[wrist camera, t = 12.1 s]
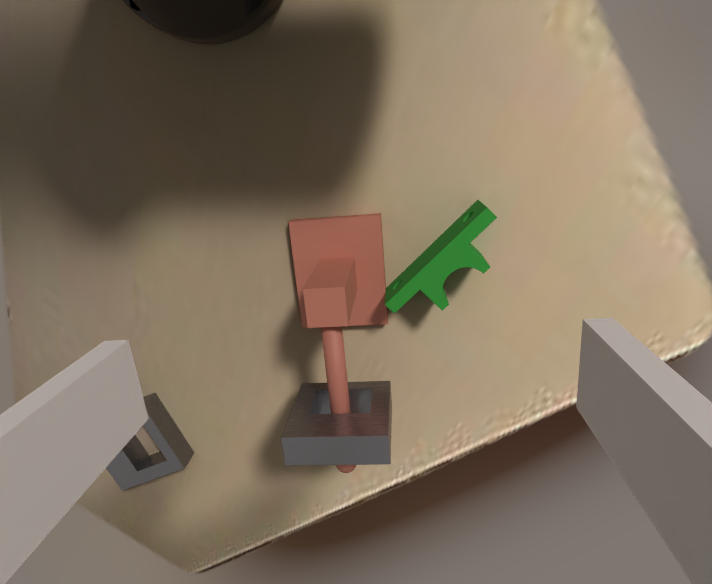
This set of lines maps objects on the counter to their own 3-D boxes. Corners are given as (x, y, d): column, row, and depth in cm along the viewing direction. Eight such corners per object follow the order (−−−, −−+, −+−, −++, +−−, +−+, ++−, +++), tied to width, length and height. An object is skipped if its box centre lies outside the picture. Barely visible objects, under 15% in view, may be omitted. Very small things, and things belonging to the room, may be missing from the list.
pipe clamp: (414, 314, 44) (416, 334, 39) (385, 287, 43) (384, 305, 39) (507, 229, 40) (520, 241, 36) (477, 198, 40) (487, 207, 35)
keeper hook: (290, 219, 42) (261, 243, 33) (380, 213, 41) (376, 235, 32) (316, 417, 48) (297, 483, 39) (394, 415, 47) (393, 482, 38)
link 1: (94, 417, 50) (79, 431, 48) (155, 392, 49) (142, 405, 46) (134, 474, 52) (122, 490, 50) (194, 452, 51) (184, 468, 48)
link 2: (301, 383, 42) (281, 437, 35) (390, 380, 42) (388, 435, 34) (305, 407, 43) (285, 465, 36) (392, 405, 42) (390, 464, 35)
